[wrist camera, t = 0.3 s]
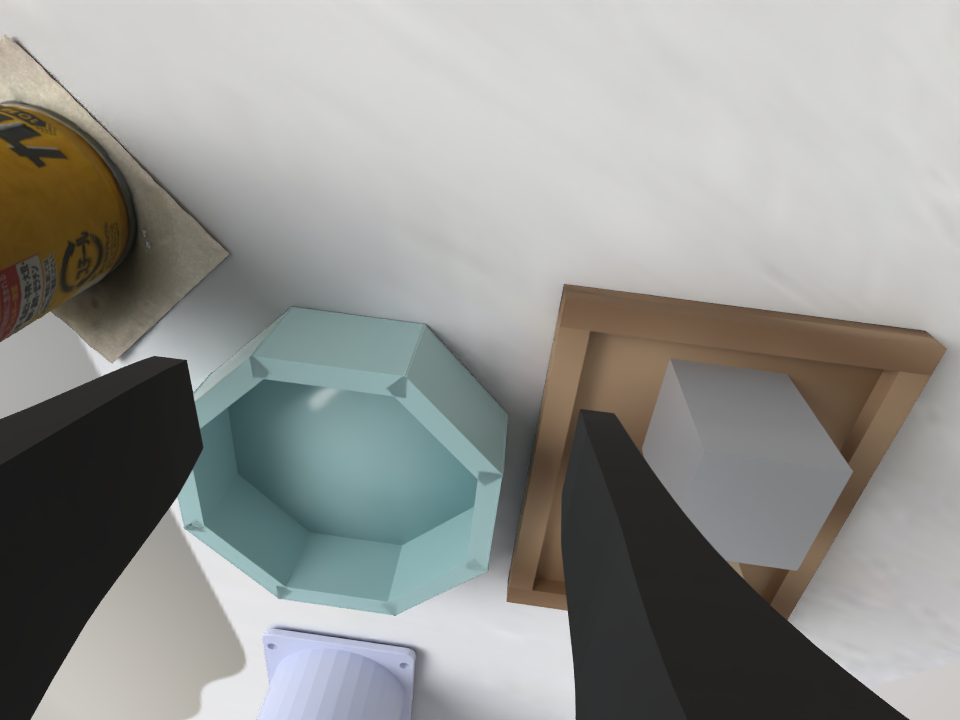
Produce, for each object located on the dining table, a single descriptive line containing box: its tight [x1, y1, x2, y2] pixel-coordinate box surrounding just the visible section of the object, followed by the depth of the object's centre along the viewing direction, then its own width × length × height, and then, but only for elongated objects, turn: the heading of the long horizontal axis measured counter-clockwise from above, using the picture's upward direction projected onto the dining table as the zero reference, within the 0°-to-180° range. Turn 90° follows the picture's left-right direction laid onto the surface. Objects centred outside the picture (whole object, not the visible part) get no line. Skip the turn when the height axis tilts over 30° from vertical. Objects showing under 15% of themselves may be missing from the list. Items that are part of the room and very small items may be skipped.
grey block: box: [642, 358, 853, 571], centre depth 19 cm, size 4×4×5 cm
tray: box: [507, 284, 946, 620], centre depth 23 cm, size 15×12×1 cm
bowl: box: [177, 306, 508, 616], centre depth 23 cm, size 12×12×4 cm
